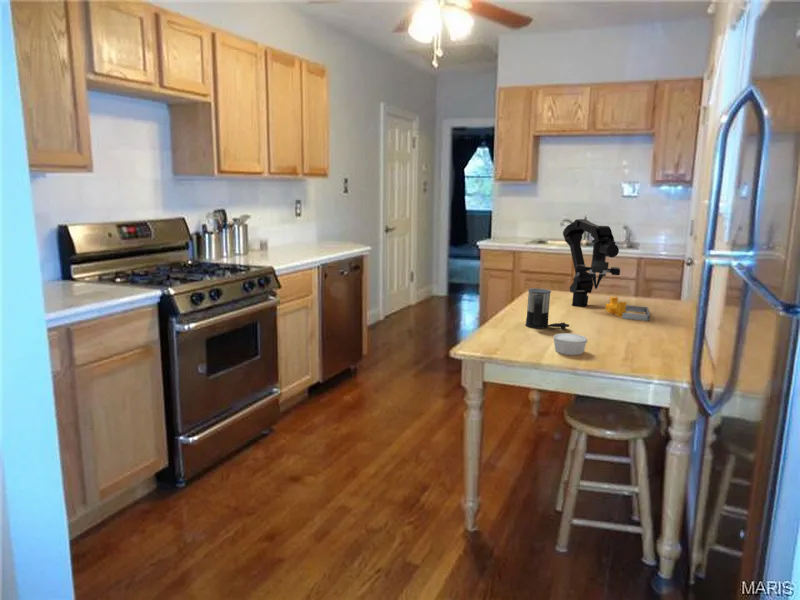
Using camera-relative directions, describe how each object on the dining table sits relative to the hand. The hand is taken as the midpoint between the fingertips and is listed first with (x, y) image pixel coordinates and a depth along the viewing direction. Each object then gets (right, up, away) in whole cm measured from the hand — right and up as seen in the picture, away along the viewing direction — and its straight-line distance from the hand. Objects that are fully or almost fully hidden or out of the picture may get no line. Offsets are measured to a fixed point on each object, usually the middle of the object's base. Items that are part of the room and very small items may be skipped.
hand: (595, 288), depth 267 cm
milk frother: (-29, -16, -28) cm, 44 cm away
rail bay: (+16, -12, -3) cm, 20 cm away
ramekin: (-29, -23, -60) cm, 71 cm away
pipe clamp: (+8, -11, 0) cm, 14 cm away
